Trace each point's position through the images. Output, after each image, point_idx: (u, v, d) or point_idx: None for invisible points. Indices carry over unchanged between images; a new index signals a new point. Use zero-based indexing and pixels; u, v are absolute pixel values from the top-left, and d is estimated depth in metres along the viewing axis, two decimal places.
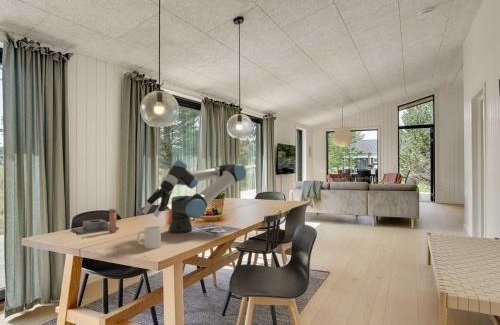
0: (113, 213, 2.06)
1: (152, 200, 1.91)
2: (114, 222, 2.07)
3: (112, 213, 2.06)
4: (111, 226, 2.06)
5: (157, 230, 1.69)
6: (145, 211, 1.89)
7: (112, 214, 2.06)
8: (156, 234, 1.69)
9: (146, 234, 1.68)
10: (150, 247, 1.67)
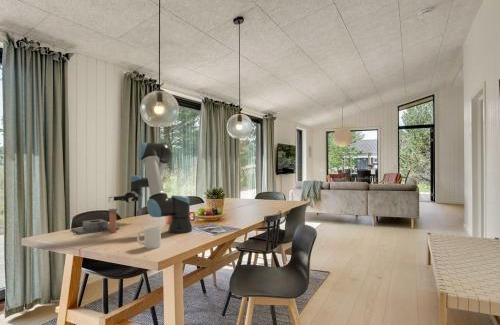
0: (113, 213, 2.06)
1: None
2: (114, 222, 2.07)
3: (112, 213, 2.06)
4: (111, 226, 2.06)
5: (157, 230, 1.69)
6: None
7: (112, 214, 2.06)
8: (156, 234, 1.69)
9: (146, 234, 1.68)
10: (150, 247, 1.67)
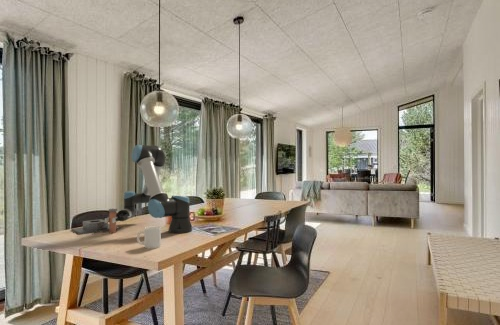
0: (113, 213, 2.06)
1: None
2: (114, 222, 2.07)
3: (112, 213, 2.06)
4: (111, 226, 2.06)
5: (157, 230, 1.69)
6: None
7: (112, 214, 2.06)
8: (156, 234, 1.69)
9: (146, 234, 1.68)
10: (150, 247, 1.67)
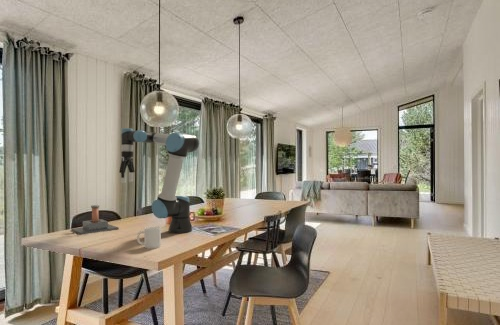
0: (95, 209, 2.15)
1: (130, 169, 2.27)
2: (96, 218, 2.16)
3: (94, 209, 2.15)
4: None
5: (157, 230, 1.69)
6: (130, 179, 2.27)
7: (94, 210, 2.15)
8: (156, 234, 1.69)
9: (146, 234, 1.68)
10: (150, 247, 1.67)
